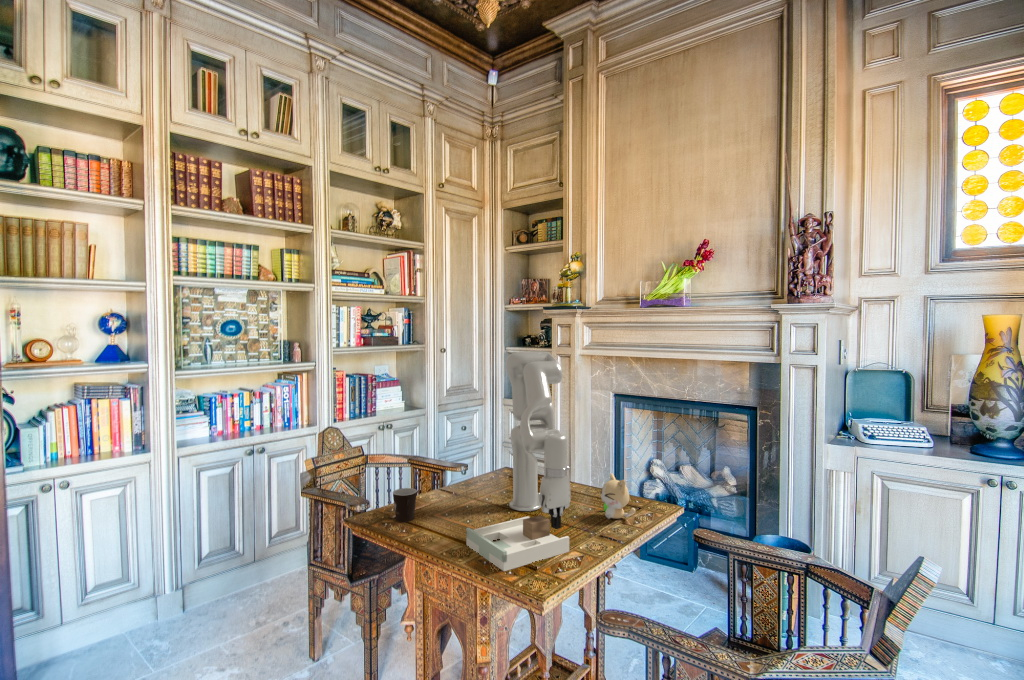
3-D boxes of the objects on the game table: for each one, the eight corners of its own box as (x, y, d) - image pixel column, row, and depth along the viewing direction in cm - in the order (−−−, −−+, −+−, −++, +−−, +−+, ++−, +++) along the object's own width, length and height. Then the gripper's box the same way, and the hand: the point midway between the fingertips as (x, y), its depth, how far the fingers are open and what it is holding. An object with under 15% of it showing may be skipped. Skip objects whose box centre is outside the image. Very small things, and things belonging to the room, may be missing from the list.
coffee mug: (396, 514, 195) (396, 488, 195) (419, 515, 195) (419, 488, 195) (387, 526, 183) (387, 498, 183) (412, 526, 183) (412, 498, 183)
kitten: (593, 511, 198) (593, 472, 197) (617, 509, 200) (617, 469, 200) (611, 525, 183) (611, 482, 183) (636, 522, 186) (636, 480, 186)
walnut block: (540, 530, 172) (540, 515, 172) (549, 535, 168) (549, 519, 168) (523, 535, 169) (522, 519, 169) (532, 540, 164) (532, 524, 164)
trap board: (528, 529, 180) (527, 513, 180) (569, 551, 162) (569, 533, 162) (466, 545, 167) (466, 528, 167) (503, 571, 149) (503, 552, 148)
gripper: (565, 466, 180) (566, 519, 180) (530, 473, 171) (530, 528, 172) (580, 471, 174) (580, 526, 174) (544, 478, 165) (544, 536, 166)
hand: (555, 527), depth 173 cm, fingers closed
